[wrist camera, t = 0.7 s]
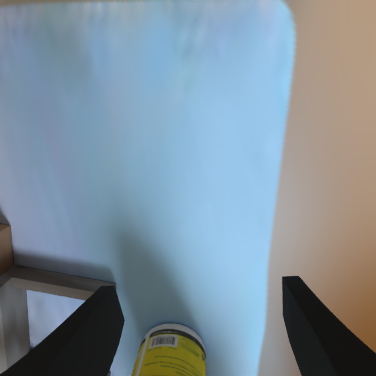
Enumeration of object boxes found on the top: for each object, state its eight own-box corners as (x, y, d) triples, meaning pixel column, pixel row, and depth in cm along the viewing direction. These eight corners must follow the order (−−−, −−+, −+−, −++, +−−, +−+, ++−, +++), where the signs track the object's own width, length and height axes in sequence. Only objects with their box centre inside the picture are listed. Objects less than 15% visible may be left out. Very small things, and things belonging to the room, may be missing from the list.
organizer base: (108, 405, 28) (96, 438, 26) (-45, 374, 29) (-73, 403, 26) (118, 244, 22) (104, 265, 19) (-78, 210, 23) (-119, 225, 20)
